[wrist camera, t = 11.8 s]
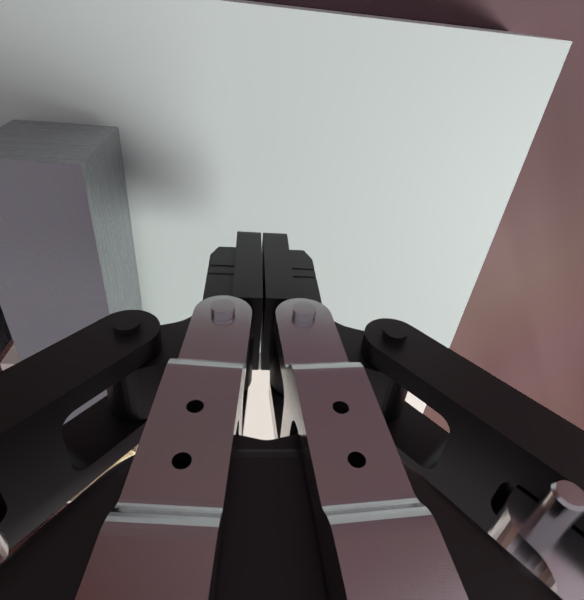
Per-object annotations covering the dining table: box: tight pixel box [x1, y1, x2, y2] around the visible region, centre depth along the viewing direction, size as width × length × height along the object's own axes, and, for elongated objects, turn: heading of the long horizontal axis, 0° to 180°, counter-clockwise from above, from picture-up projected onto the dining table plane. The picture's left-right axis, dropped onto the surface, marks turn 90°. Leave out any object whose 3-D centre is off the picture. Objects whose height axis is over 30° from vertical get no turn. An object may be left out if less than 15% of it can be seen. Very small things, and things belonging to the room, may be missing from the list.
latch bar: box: [0, 120, 143, 502], centre depth 16 cm, size 14×4×4 cm, turn 175°
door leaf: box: [0, 0, 572, 353], centre depth 18 cm, size 19×13×4 cm
